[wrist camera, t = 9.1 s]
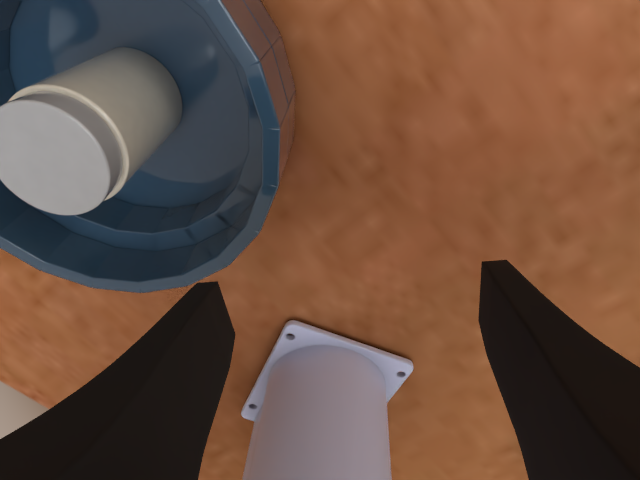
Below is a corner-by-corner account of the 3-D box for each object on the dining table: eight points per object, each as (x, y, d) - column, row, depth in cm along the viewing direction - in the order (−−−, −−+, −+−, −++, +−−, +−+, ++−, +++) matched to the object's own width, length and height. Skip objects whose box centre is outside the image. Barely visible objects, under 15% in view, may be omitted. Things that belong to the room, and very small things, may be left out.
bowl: (244, 262, 24) (220, 331, 20) (-18, 168, 22) (-106, 223, 18) (347, 2, 17) (344, 24, 13) (-25, -173, 15) (-172, -215, 11)
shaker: (172, 157, 20) (105, 237, 15) (81, 122, 20) (-23, 192, 14) (192, 71, 18) (123, 129, 13) (92, 29, 18) (-25, 71, 12)
